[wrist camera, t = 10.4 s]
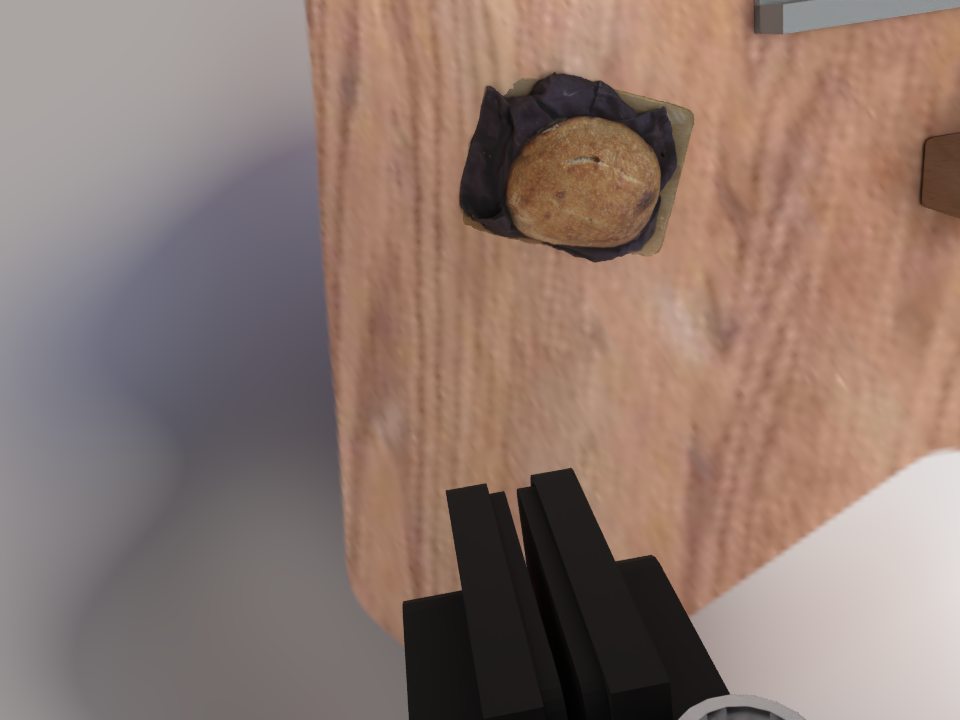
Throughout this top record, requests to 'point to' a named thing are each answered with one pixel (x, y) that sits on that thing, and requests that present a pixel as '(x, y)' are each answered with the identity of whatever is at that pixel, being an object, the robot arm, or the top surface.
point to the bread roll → (575, 167)
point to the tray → (835, 12)
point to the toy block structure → (942, 174)
